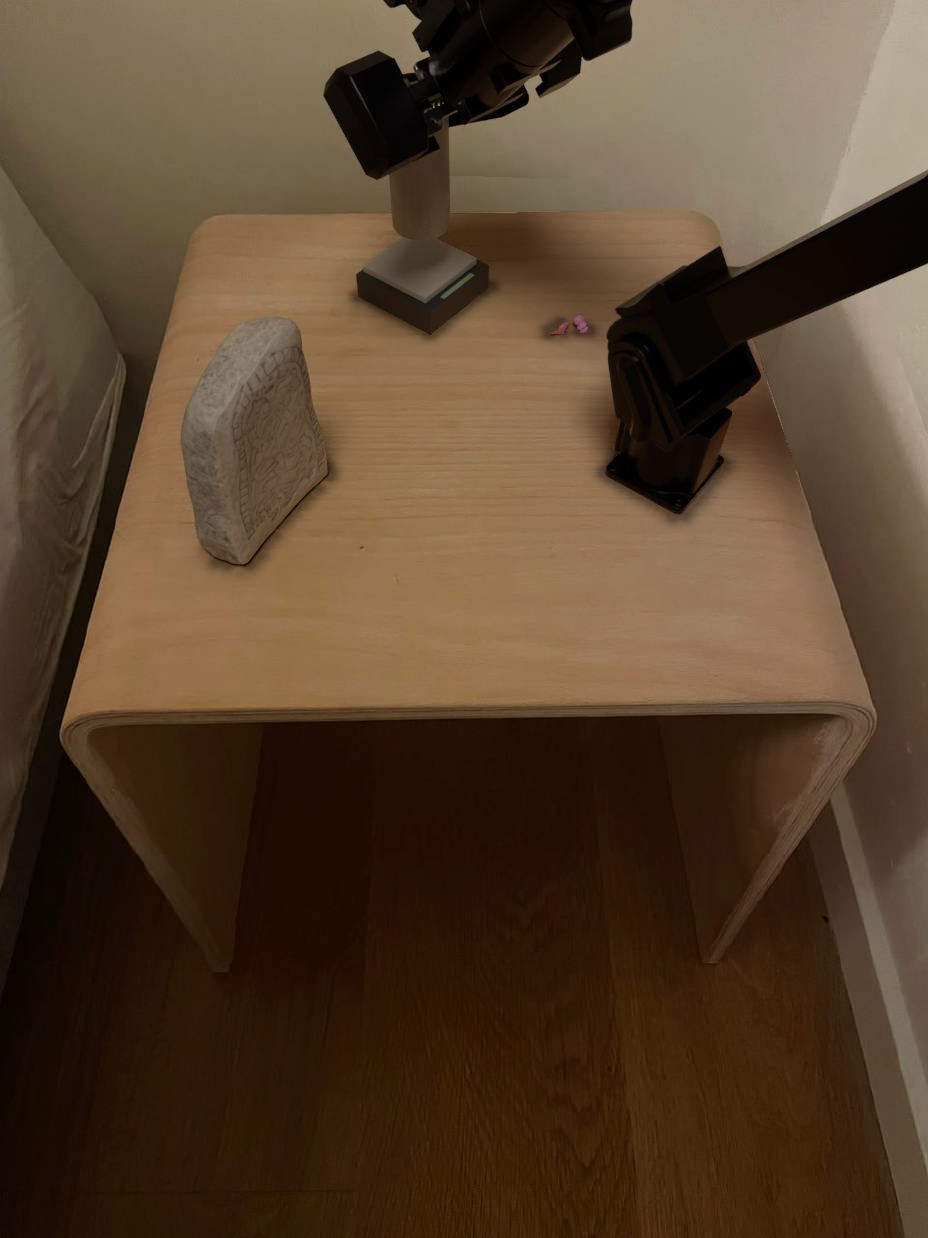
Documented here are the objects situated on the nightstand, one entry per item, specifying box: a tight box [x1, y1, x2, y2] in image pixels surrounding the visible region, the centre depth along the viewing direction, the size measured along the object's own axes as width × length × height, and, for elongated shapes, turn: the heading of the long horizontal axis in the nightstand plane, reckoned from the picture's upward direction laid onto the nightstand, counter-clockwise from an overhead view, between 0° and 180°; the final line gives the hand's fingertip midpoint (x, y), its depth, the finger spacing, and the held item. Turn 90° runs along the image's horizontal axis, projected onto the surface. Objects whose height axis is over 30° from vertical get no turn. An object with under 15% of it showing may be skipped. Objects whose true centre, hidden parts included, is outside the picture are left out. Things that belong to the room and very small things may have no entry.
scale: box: [355, 236, 490, 335], centre depth 76 cm, size 8×8×3 cm
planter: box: [388, 72, 451, 241], centre depth 67 cm, size 4×4×10 cm
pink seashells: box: [550, 314, 589, 335], centre depth 75 cm, size 3×2×2 cm
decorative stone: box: [180, 315, 329, 565], centre depth 58 cm, size 11×6×15 cm, turn 153°
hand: (405, 133), depth 66 cm, fingers closed on planter, 4 cm apart
